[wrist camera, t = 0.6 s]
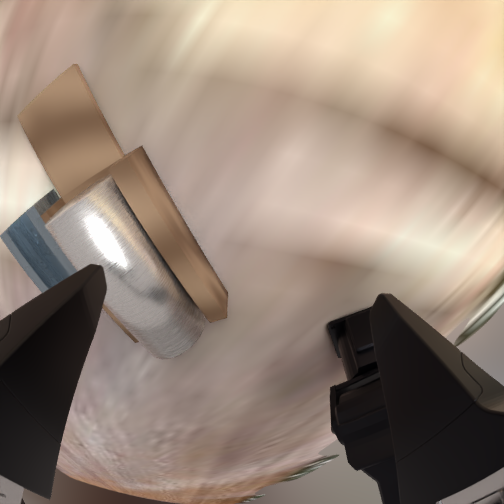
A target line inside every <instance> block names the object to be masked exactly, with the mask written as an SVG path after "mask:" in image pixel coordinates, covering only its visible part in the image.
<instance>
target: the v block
mask: <svg viewBox="0 0 504 504" xmlns="http://www.w3.org/2000/svg"><path fill="white" fill-rule="evenodd" d="M58 200H59V197H58V196H57V194H56V193H55V191H54V189H53V190H51V191H50V192H49V193H48V194H46V195H45V196H44V197H43V198H41V199H40V200H39V201H38V202H37V203H35V204H34V205H33V206H32V207H31V208H29V209H28V210H27V211H26V212H25V213H24V214H23V215H21V216H20V217H19V218H18V219H17V220H16V221H15V222H14V223H13V224H12V225H11V226H10V227H9V228H7V229H6V230H5V231H4V232H3V233H2V234H1V235H0V237H1V239H2V240H3V242H4V243H5V244H6V246H7V247H8V249H9V250H10V252H11V253H12V254H13V256H14V257H15V259H16V260H17V261H18V263H19V264H20V265H21V267H22V268H23V269H24V271H25V272H26V273H27V275H28V276H29V277H30V278H31V280H32V281H33V282H34V283H35V285H36V286H37V287H38V288H39V289H40V291H41V292H42V293H43V292H45V291H46V290H48V289H49V288H51V287H53V286H54V285H56V284H58V283H59V282H61V281H62V280H64V279H66V278H67V277H69V276H71V275H72V274H74V273H76V272H77V270H76V269H75V268H74V266H73V265H72V264H71V262H70V261H69V260H68V258H67V257H66V256H65V254H64V253H63V252H62V250H61V249H60V248H59V246H58V245H57V243H56V242H55V240H54V239H53V238H52V236H51V235H50V233H49V232H48V230H47V229H46V227H45V226H44V225H45V222H44V221H43V219H42V218H41V215H42V214H43V213H44V212H46V211H47V210H48V209H49V208H50V207H51V206H52V205H53V204H54V203H55V202H56V201H58Z"/></svg>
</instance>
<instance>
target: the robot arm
mask: <svg viewBox="0 0 504 504" xmlns="http://www.w3.org/2000/svg"><path fill="white" fill-rule="evenodd" d="M106 292H107V283H106V278H105V273H104V268H103V266H102V265H98V264H89V265H88V266H86V267H84V268H82V269H81V270H79V271H77V272H76V273H74V274H72V275H71V276H69V277H67V278H66V279H64V280H62V281H61V282H59V283H58V284H56V285H54V286H53V287H51V288H49V289H48V290H46V291H45V292H43V293H42V294H40V295H38V296H37V297H35V298H34V299H32V300H31V301H29V302H28V303H26V304H24V305H23V306H21V307H20V308H18V309H17V310H15V311H14V312H12V314H9V315H8V316H7V317H5V318H4V319H2V320H1V321H0V504H25V503H24V501H23V499H22V494H23V490H24V488H25V489H27V490H30V491H32V492H34V493H36V494H38V495H40V496H43V497H45V498H47V499H50V497H51V493H52V486H53V481H54V475H55V469H56V465H57V460H58V455H59V451H60V446H61V441H62V437H63V433H64V429H65V425H66V421H67V417H68V414H69V410H70V407H71V403H72V400H73V396H74V393H75V390H76V387H77V383H78V380H79V377H80V374H81V371H82V368H83V365H84V362H85V359H86V357H87V354H88V351H89V348H90V346H91V343H92V340H93V337H94V335H95V332H96V328H97V325H98V321H99V317H100V313H101V310H102V306H103V303H104V299H105V296H106ZM328 329H329V332H330V335H331V338H332V341H333V344H334V347H335V350H336V353H337V356H338V358H342V362H343V365H344V369H345V373H346V376H347V380H348V381H346V382H343V383H341V384H339V385H337V386H336V385H334V386H332V387H330V410H331V431H332V433H333V434H335V435H336V436H337V438H338V440H339V442H340V443H341V444H342V445H344V446H345V450H346V455H347V460H348V463H349V464H350V465H351V466H352V467H353V468H354V469H355V470H357V471H358V470H362V471H363V472H364V473H366V474H367V475H368V476H370V477H371V478H372V479H374V480H375V481H376V482H377V484H378V487H379V491H380V494H381V499H382V502H383V504H439V502H438V501H440V500H441V501H442V504H504V386H503V385H501V384H500V383H499V382H498V381H497V380H495V379H494V378H493V377H491V376H490V375H489V374H488V373H486V372H485V371H484V370H483V369H481V368H480V367H479V366H478V365H476V364H475V363H474V362H473V361H472V360H470V359H469V358H468V357H467V356H466V355H465V354H463V353H462V352H460V351H459V349H458V348H456V347H455V346H454V345H453V344H452V343H451V342H449V341H448V340H447V339H446V338H445V337H444V336H442V335H441V334H440V333H439V332H438V331H436V330H435V329H434V328H433V327H432V326H430V325H429V324H428V323H427V322H425V321H424V320H423V319H422V318H421V317H419V316H418V315H417V314H416V313H414V312H413V311H412V310H411V309H409V308H408V307H407V306H406V305H404V304H403V303H402V302H401V301H399V300H398V299H397V298H396V297H394V296H393V295H392V294H388V293H381V294H379V295H378V296H377V298H376V300H375V303H374V305H373V307H370V308H368V309H365V310H362V311H360V312H357V313H354V314H352V315H349V316H346V317H343V318H340V319H337V320H335V321H332V322H330V323H328Z"/></svg>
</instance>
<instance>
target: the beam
mask: <svg viewBox="0 0 504 504" xmlns="http://www.w3.org/2000/svg"><path fill="white" fill-rule="evenodd" d="M18 118H19V120H20V123H21V125H22V127H23V129H24V131H25V133H26V135H27V137H28V139H29V141H30V143H31V145H32V147H33V149H34V150H35V152H36V154H37V156H38V158H39V160H40V161H41V163H42V165H43V167H44V169H45V170H46V172H47V174H48V176H49V177H50V179H51V181H52V182H53V184H54V186H55V187H56V189H57V191H58V192H59V194H60V196H61V198H60V199H59V200H58V201H56V202H55V203H54V204H53V205H52V206H51V207H50V208H49V209H48V210H47V211H46V212H44V213H43V214H42V215H41V218H42V219H43V221H44V222H45V224H46V222H47V221H48V220H49V219H50V218H51V217H52V216H53V215H54V214H55V213H56V212H57V211H58V210H59V209H61V208H62V207H63V206H64V205H65V204H66V203H68V202H69V201H70V200H71V199H73V198H74V197H75V196H77V195H78V194H79V193H81V192H82V191H83V190H85V189H86V188H88V187H89V186H91V185H92V184H94V183H95V182H97V181H98V180H100V179H102V178H103V177H105V176H107V175H110V174H111V175H112V177H113V179H114V181H115V182H116V184H117V186H118V187H119V189H120V191H121V192H122V194H123V196H124V197H125V199H126V200H127V202H128V204H129V205H130V207H131V209H132V210H133V212H134V213H135V215H136V217H137V218H138V220H139V221H140V223H141V224H142V226H143V228H144V229H145V231H146V232H147V234H148V235H149V237H150V238H151V240H152V241H153V243H154V244H155V246H156V247H157V249H158V250H159V252H160V253H161V255H162V256H163V258H164V259H165V261H166V262H167V264H168V265H169V267H170V268H171V269H172V271H173V272H174V274H175V275H176V277H177V278H178V280H179V281H180V282H181V284H182V285H183V287H184V288H185V289H186V291H187V292H188V294H189V295H190V296H191V298H192V299H193V301H194V302H195V303H196V305H197V306H198V307H199V309H200V310H201V311H202V313H203V314H204V315H205V317H206V318H207V319H208V321H209V322H210V323H211V322H214V321H218V320H221V319H225V318H227V302H228V292H227V290H226V289H225V287H224V286H223V284H222V282H221V281H220V279H219V278H218V276H217V274H216V273H215V271H214V269H213V268H212V266H211V265H210V263H209V261H208V260H207V258H206V256H205V255H204V253H203V251H202V250H201V248H200V246H199V245H198V243H197V241H196V240H195V238H194V236H193V235H192V233H191V231H190V230H189V228H188V226H187V224H186V223H185V221H184V219H183V218H182V216H181V214H180V212H179V211H178V209H177V207H176V206H175V204H174V202H173V200H172V199H171V197H170V195H169V193H168V192H167V190H166V188H165V186H164V185H163V183H162V181H161V179H160V177H159V176H158V174H157V172H156V170H155V168H154V167H153V165H152V163H151V161H150V159H149V158H148V156H147V154H146V152H145V150H144V148H143V147H142V146H141V147H139V148H137V149H135V150H133V151H132V152H130V153H128V154H127V155H124V153H123V152H122V150H121V148H120V146H119V144H118V142H117V141H116V139H115V137H114V135H113V133H112V131H111V129H110V128H109V126H108V124H107V122H106V120H105V118H104V116H103V114H102V112H101V110H100V109H99V107H98V105H97V103H96V101H95V99H94V97H93V95H92V93H91V91H90V89H89V87H88V85H87V83H86V81H85V79H84V77H83V74H82V72H81V70H80V68H79V66H78V64H73V65H72V66H71V67H69V68H68V69H67V70H66V71H65V72H63V73H62V74H61V75H60V76H59V77H57V78H56V79H55V80H54V81H53V82H52V83H51V84H49V85H48V86H47V87H46V88H45V89H44V90H43V91H42V92H41V93H40V94H39V95H38V96H37V97H36V98H35V99H33V100H32V101H31V102H30V103H29V104H28V105H27V106H26V108H25V109H24V110H23V111H22V112H21V113H20V114H19V115H18ZM102 308H103V309H104V310H105V311H106V312H107V313H108V314H109V316H110V317H111V318H112V319H113V320H114V321H115V322H116V323H117V324H118V325H119V326H120V327H121V329H122V330H123V331H124V332H125V333H126V334H127V335H128V336H129V337H130V338H131V339H132V340H133V341H134V342H135V343H137V342H139V341H138V340H137V339H136V338H135V337H134V336H133V335H132V334H131V333H130V332H129V331H128V330H127V329H126V327H125V326H124V325H123V324H122V323H121V322H120V321H119V320H118V319H117V318H116V317H115V316H114V314H113V313H112V312H111V311H110V310H109V309H108V308H107V307H106V305H105V304H104V303H103V306H102Z"/></svg>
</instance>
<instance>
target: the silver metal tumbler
mask: <svg viewBox="0 0 504 504" xmlns="http://www.w3.org/2000/svg"><path fill="white" fill-rule="evenodd" d="M44 226H45V227H46V229H47V230H48V232H49V233H50V235H51V236H52V238H53V239H54V240H55V242H56V243H57V245H58V246H59V248H60V249H61V250H62V252H63V253H64V254H65V256H66V257H67V258H68V260H69V261H70V262H71V264H72V265H73V266H74V268H75V269H76V270H77V271H79V270H81V269H82V268H84V267H86V266H88V265H89V264H98V265H102V266H103V268H104V273H105V278H106V283H107V292H106V296H105V299H104V304H105V305H106V307H107V308H108V309H109V310H110V311H111V312H112V313H113V314H114V316H115V317H116V318H117V319H118V320H119V321H120V322H121V323H122V324H123V325H124V326H125V327H126V329H127V330H128V331H129V332H130V333H131V334H132V335H133V336H134V337H135V338H136V339H137V340H138V341H139V342H140V343H141V344H142V345H143V346H144V347H145V348H146V349H147V350H148V351H149V352H150V353H151V354H152V355H153V356H154V357H156V358H159V359H169V358H173V357H176V356H178V355H180V354H182V353H184V352H185V351H187V350H188V349H189V348H190V347H191V346H192V345H193V344H194V343H195V342H196V341H197V340H198V338H199V337H200V335H201V333H202V331H203V328H204V323H205V318H204V314H203V313H202V311H201V310H200V309H199V307H198V306H197V305H196V303H195V302H194V301H193V299H192V298H191V296H190V295H189V294H188V292H187V291H186V289H185V288H184V287H183V285H182V284H181V282H180V281H179V280H178V278H177V277H176V275H175V274H174V272H173V271H172V269H171V268H170V267H169V265H168V264H167V262H166V261H165V259H164V258H163V256H162V255H161V253H160V252H159V250H158V249H157V247H156V246H155V244H154V243H153V241H152V240H151V238H150V237H149V235H148V234H147V232H146V231H145V229H144V228H143V226H142V224H141V223H140V221H139V220H138V218H137V217H136V215H135V213H134V212H133V210H132V209H131V207H130V205H129V204H128V202H127V200H126V199H125V197H124V196H123V194H122V192H121V191H120V189H119V187H118V186H117V184H116V182H115V181H114V179H113V177H112V175H111V174H110V175H107V176H105V177H103V178H102V179H100V180H98V181H97V182H95V183H94V184H92V185H91V186H89V187H88V188H86V189H85V190H83V191H82V192H81V193H79V194H78V195H77V196H75V197H74V198H73V199H71V200H70V201H69V202H68V203H66V204H65V205H64V206H63V207H62V208H61V209H59V210H58V211H57V212H56V213H55V214H54V215H53V216H52V217H51V218H50V219H49V220H48V221H47V222H46V224H45V225H44Z"/></svg>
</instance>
